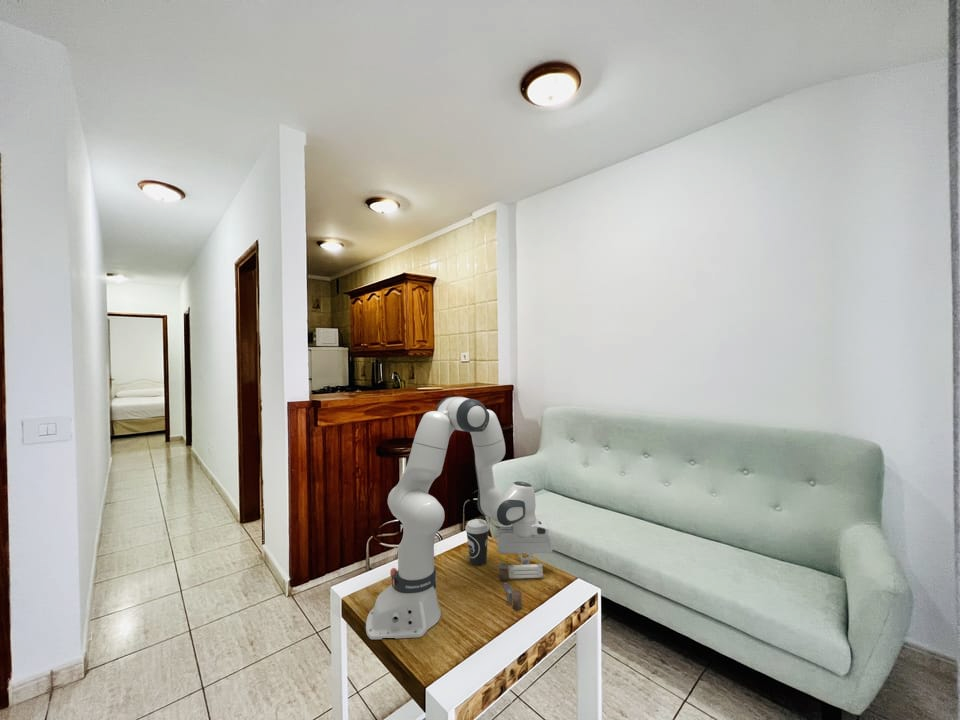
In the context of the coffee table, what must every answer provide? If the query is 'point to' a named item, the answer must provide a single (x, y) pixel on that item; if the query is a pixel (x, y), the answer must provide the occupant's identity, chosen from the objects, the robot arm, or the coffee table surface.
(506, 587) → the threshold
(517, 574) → the white long block
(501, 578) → the hinge post
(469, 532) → the coffee cup
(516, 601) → the brown rounded cylinder
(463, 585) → the coffee table surface
